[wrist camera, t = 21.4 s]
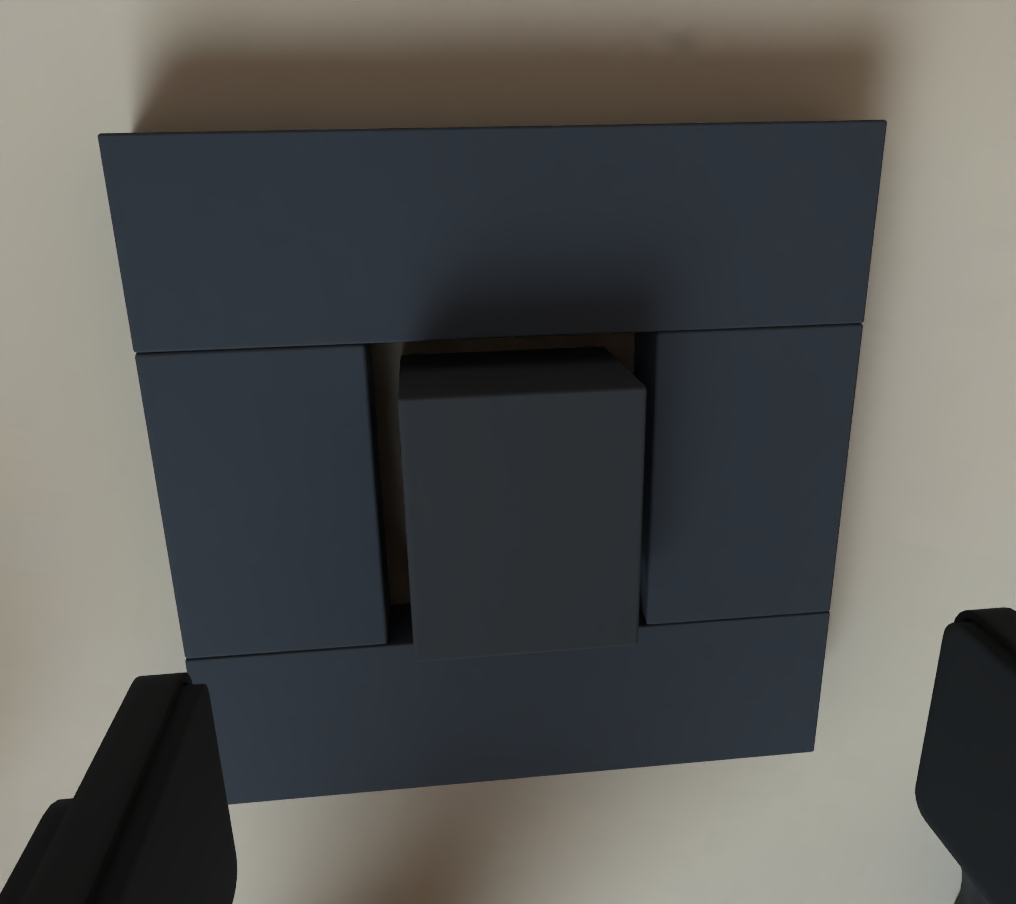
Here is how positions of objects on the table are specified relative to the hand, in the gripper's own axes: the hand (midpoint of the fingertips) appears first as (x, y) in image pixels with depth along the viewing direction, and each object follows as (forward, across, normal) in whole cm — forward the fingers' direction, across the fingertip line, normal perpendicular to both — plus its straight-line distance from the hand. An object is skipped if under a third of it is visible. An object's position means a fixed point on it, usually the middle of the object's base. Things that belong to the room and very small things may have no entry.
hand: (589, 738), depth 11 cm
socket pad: (+11, 0, +1) cm, 11 cm away
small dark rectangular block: (+11, 0, +1) cm, 11 cm away
